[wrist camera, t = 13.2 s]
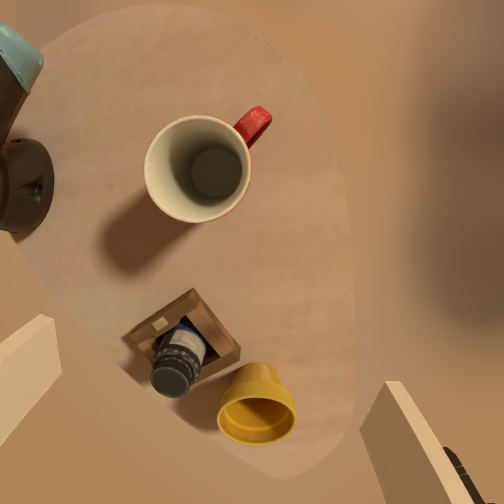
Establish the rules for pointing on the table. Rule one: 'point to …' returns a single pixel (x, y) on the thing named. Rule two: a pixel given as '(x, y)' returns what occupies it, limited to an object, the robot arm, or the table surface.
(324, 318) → the table surface
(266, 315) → the table surface
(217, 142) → the mug
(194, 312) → the wooden tray
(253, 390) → the plant pot
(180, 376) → the pill bottle
